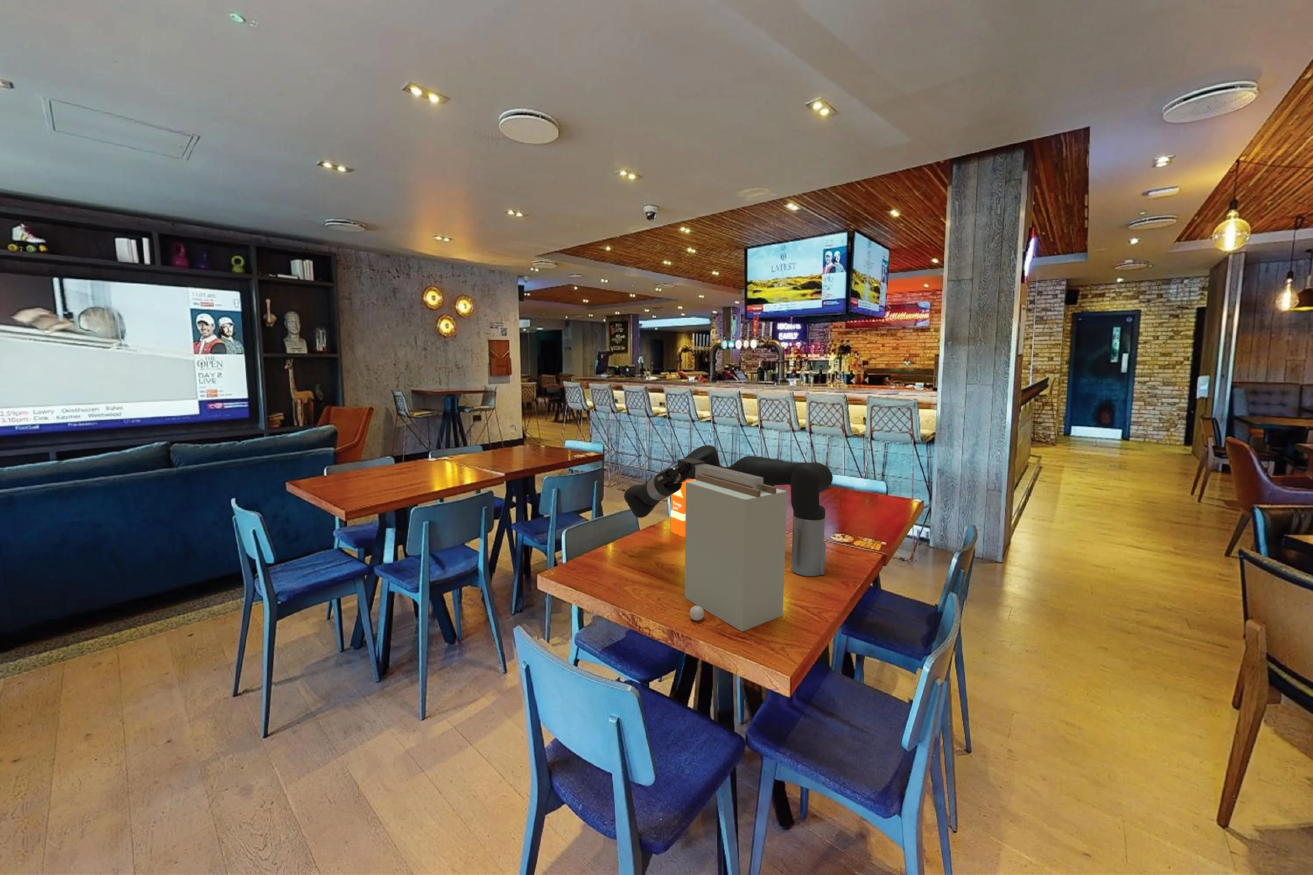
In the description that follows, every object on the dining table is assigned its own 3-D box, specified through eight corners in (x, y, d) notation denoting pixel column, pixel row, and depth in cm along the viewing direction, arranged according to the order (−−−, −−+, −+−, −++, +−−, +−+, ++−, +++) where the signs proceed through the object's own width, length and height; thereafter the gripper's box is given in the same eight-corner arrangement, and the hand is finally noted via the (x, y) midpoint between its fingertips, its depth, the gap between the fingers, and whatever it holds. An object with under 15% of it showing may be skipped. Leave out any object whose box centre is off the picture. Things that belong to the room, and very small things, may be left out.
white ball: (703, 616, 131) (704, 603, 131) (703, 623, 128) (704, 609, 127) (689, 615, 131) (690, 602, 131) (689, 622, 128) (689, 609, 128)
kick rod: (677, 474, 148) (677, 459, 147) (689, 473, 151) (689, 458, 150) (751, 495, 125) (751, 477, 124) (764, 493, 127) (764, 475, 126)
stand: (683, 596, 142) (684, 475, 138) (722, 584, 150) (724, 469, 145) (742, 631, 124) (745, 493, 119) (782, 615, 132) (787, 485, 127)
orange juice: (701, 532, 196) (702, 480, 194) (683, 537, 191) (683, 483, 189) (689, 527, 203) (689, 476, 200) (670, 531, 198) (670, 479, 195)
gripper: (640, 475, 155) (670, 454, 142) (679, 470, 163) (711, 449, 150) (647, 500, 153) (679, 480, 139) (686, 493, 161) (719, 474, 147)
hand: (695, 464), depth 145 cm, fingers closed on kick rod, 4 cm apart
